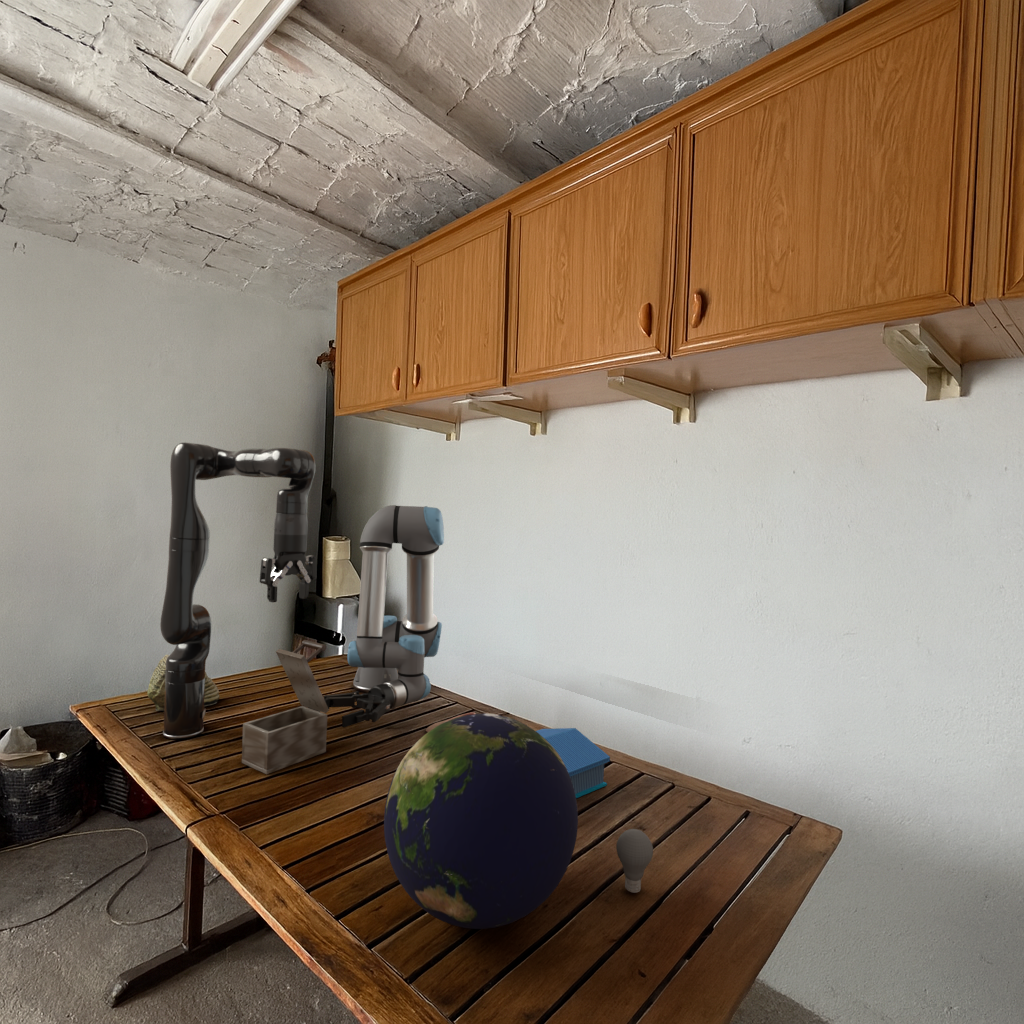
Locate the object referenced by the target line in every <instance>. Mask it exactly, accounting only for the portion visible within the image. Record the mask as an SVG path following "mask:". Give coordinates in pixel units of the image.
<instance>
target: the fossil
mask: <svg viewBox="0 0 1024 1024" xmlns="http://www.w3.org/2000/svg"><path fill="white" fill-rule="evenodd" d="M169 655H170V654H165V655H164V656H163V657H162V658H161V659H160V660H159V662H158V663H157V666H156V667H155V669H154V670H153V672H152V675H151V677H150V680H149V684H148V688H147V697H148V699H149V700H150V701H152V703H153V704H154V706H155V711H158V712H159V711H162V712H163V711H164V705H165V674H166V659H167V658H168V656H169ZM220 698H221V696H220V690H219V688H218V686H217V685H216V683H215V682H214V681H213V679H212V678H211V677H209V675H208V674H207V672H206V671H205V693H204V707H207V706H213V705H215V704H217V703H218V701H219V699H220Z"/></svg>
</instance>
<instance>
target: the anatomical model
mask: <svg viewBox="0 0 1024 1024" xmlns="http://www.w3.org/2000/svg"><path fill="white" fill-rule="evenodd" d="M472 714H477V713H476V712H473V711H471V712H467V713H463V714H459V715H457V716H454V717H451V718H448V719H445V720H442V721H437V722H435V723H433V724H431V725H429V726H428V727H427V728H425V732H426V733H428V732H429V731H431V730H432V729H434V728H435V727H437V726H438V725H440V724H442V723H444V722H447V721H449V720H451V719H454V718H457V717H461V716H465V715H472Z"/></svg>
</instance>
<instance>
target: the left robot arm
mask: <svg viewBox="0 0 1024 1024" xmlns="http://www.w3.org/2000/svg"><path fill="white" fill-rule="evenodd" d="M169 465H170V466H169V467H170V469H169V470H170V471H169V472H170V492H171V494H170V495H171V505H170V506H171V507H170V508H171V509H170V510H171V511H170V529H169V538H168V561H167V572H166V573H167V574H166V585H165V591H164V592H165V594H164V600H163V604H162V610H161V615H160V623H159V625H160V626H159V628H160V633H161V635H162V638H163V640H164V641H165V642H167V643H168V644H170V645H173V646H175V648H174V649H173V651H172V652H171V653H170V654H168V655H169V656H168V658H167V659H166V674H165V705H164V710H163V731H162V737H164V738H166V739H169V740H185V739H190V738H191V739H192V738H194V737H197V736H199V735H202V734H203V732H204V730H205V729H204V722H205V721H204V718H205V715H206V708H205V706H204V693H205V672H206V664H207V663H206V662H207V658H208V656H209V653H210V647H211V639H212V637H211V636H212V617H211V614H210V613H209V610H208V609H207V608H206V607H205V606H203V605H201V604H196V603H195V604H194V602H193V601H194V593H195V589H196V586H197V583H198V581H199V578H200V577H201V574H202V572H203V571H204V568H205V566H206V564H207V561H208V557H209V553H210V536H211V533H210V532H211V531H210V527H209V525H208V522H207V521H206V518H205V516H204V513H202V510H201V509H200V507H199V503H198V501H197V497H196V482H197V481H209V480H214V479H218V478H223V477H230V476H239V477H246V478H283V479H289V482H288V485H287V487H284V488H280V489H279V490H278V491H277V493H276V502H275V503H276V504H275V517H274V525H273V528H274V529H273V547H272V549H273V554H274V556H273V558H270V557H262V558H261V560H260V561H261V562H260V572H259V573H260V574H259V583H260V584H263V585H266V587H267V588H266V589H267V591H266V592H267V593H266V594H267V595H266V598H267V600H268V602H269V603H277V601H278V584H279V583H280V581H281V580H283V578H285V576H291V575H293V576H296V577H297V578H298V580H299V584H298V585H299V590H298V597H299V599H301V600H302V599H303V600H304V599H305V600H306V599H308V596H309V594H310V593H309V592H310V583H311V582H312V581H316V580H317V577H318V576H317V570H318V569H317V568H318V567H317V556H316V555H312V554H308V555H306V552H307V550H308V528H309V527H308V524H309V523H308V497H309V494H310V491H311V488H312V484H313V481H314V478H315V473H316V460H315V458H314V456H313V454H312V453H311V452H310V451H308V450H305V449H298V448H291V447H273V448H244V449H240V450H226V449H223V448H218V447H214V446H211V445H208V444H202V443H195V442H186V441H185V442H179V443H177V445H175V446H174V448H173V450H172V453H171V455H170V464H169Z"/></svg>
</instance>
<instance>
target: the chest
mask: <svg viewBox="0 0 1024 1024" xmlns="http://www.w3.org/2000/svg"><path fill="white" fill-rule="evenodd" d="M327 733H328V714H327V713H323V712H319V711H316V710H313V709H310V708H308V707H306V706H303V705H301V706H300V705H299V706H297V707H293V708H291V709H287V710H284V711H283V710H282V711H280V712H277V713H273V714H270V715H266V716H264V717H260V718H257V719H253V720H250V721H246V722H243V723H242V740H241V741H242V742H241V743H242V744H241V764H243V765H245V766H247V767H249V768H251V769H254V770H256V771H259V772H260V773H263V774H264V775H269V774H272V773H275V772H277V771H280V770H282V769H285V768H288V767H291V766H293V765H295V764H298V763H300V762H304V761H305V760H308V759H311V758H313V757H316V756H320V755H321V754H325V753H327V738H328V737H327V736H328V735H327Z"/></svg>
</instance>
